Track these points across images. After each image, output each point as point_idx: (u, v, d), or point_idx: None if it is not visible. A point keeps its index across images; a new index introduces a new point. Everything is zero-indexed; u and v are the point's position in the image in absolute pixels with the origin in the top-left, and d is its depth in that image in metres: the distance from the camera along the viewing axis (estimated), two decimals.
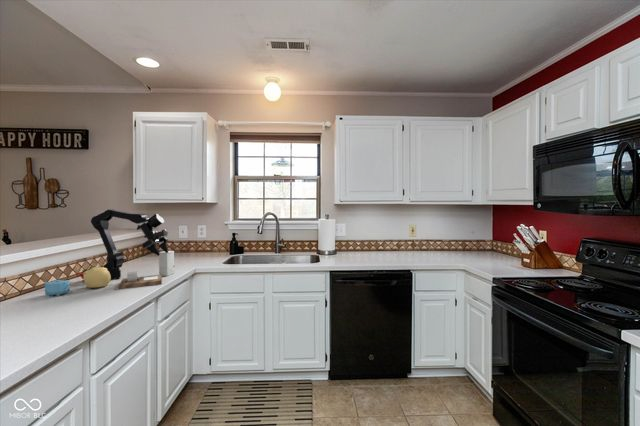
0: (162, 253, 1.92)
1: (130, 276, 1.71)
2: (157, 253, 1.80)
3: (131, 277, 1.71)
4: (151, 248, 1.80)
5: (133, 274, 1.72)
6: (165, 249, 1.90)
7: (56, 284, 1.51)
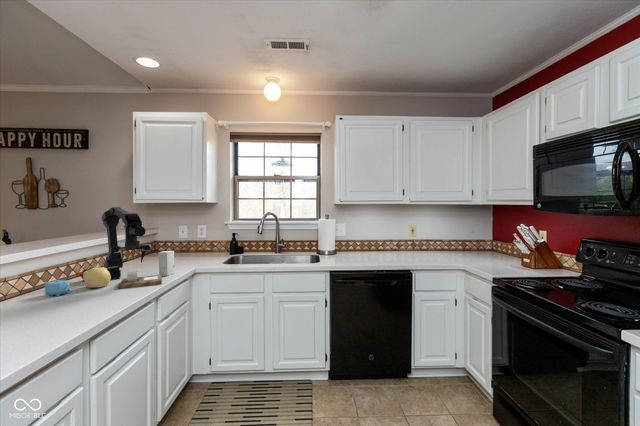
0: (162, 253, 1.92)
1: (130, 276, 1.71)
2: (121, 261, 1.71)
3: (131, 277, 1.71)
4: None
5: (133, 274, 1.72)
6: (141, 258, 1.75)
7: (56, 284, 1.51)
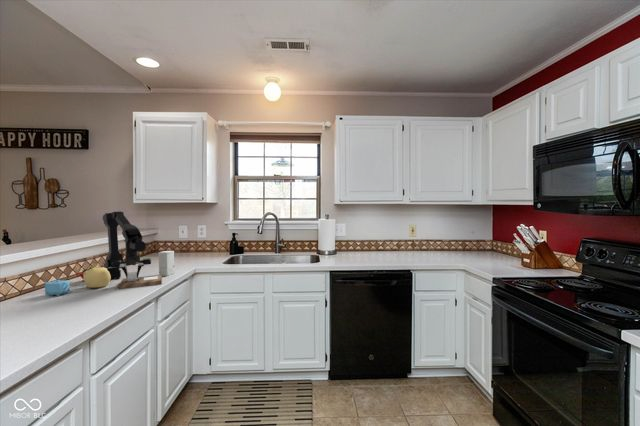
0: (162, 253, 1.92)
1: (130, 275, 1.71)
2: (126, 276, 1.72)
3: (131, 277, 1.71)
4: None
5: (133, 274, 1.72)
6: (137, 273, 1.74)
7: (56, 284, 1.51)
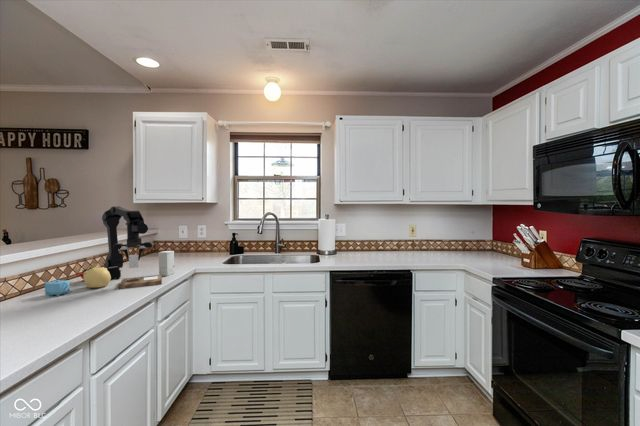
0: (162, 253, 1.92)
1: (131, 258, 1.71)
2: (127, 258, 1.72)
3: (133, 260, 1.71)
4: None
5: (134, 257, 1.72)
6: None
7: (56, 284, 1.51)
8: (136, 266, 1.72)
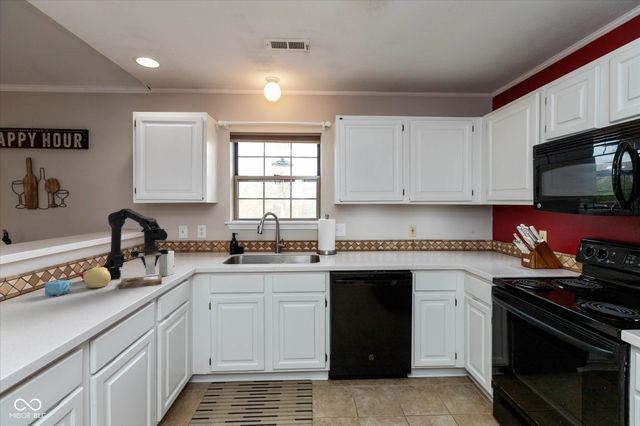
0: None
1: (148, 265, 1.75)
2: (144, 265, 1.76)
3: (149, 266, 1.75)
4: None
5: (151, 263, 1.76)
6: None
7: (56, 284, 1.51)
8: (153, 272, 1.76)
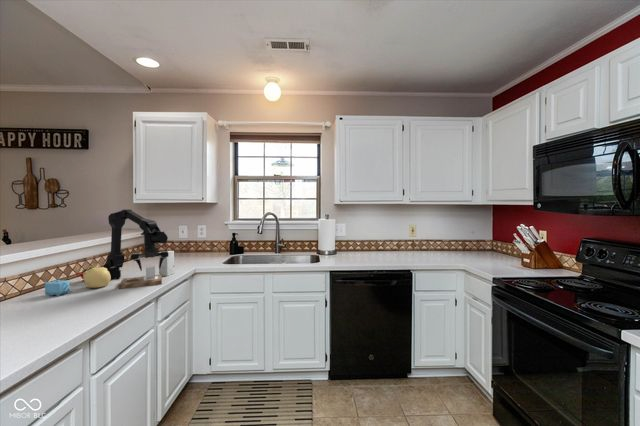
0: None
1: (148, 270, 1.75)
2: (140, 268, 1.75)
3: (149, 271, 1.75)
4: None
5: (151, 268, 1.76)
6: (159, 265, 1.79)
7: (56, 284, 1.51)
8: (153, 277, 1.76)
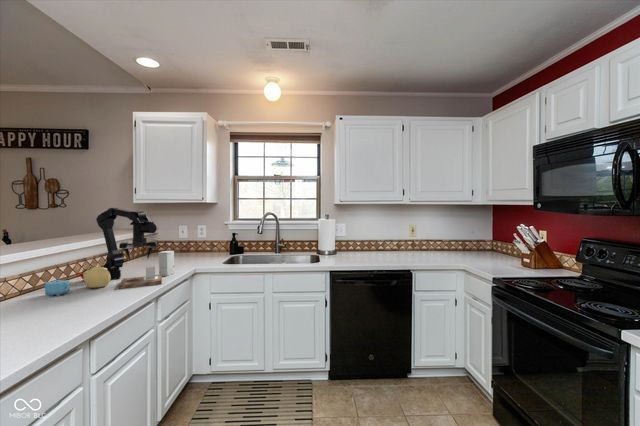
0: (162, 253, 1.92)
1: (148, 270, 1.75)
2: (128, 257, 1.79)
3: (149, 271, 1.75)
4: None
5: (151, 268, 1.76)
6: None
7: (56, 284, 1.51)
8: (153, 277, 1.76)
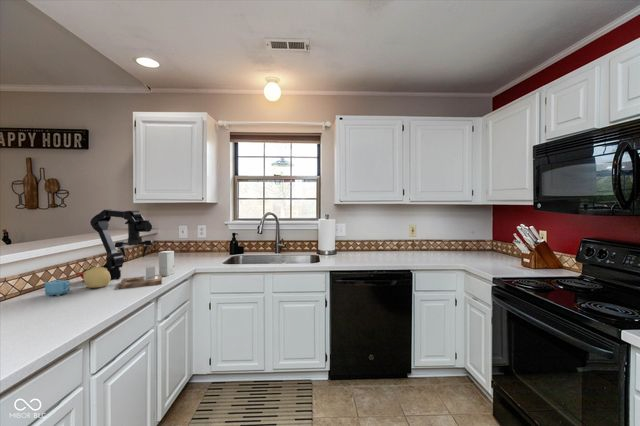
0: (162, 253, 1.92)
1: (148, 270, 1.75)
2: (124, 256, 1.81)
3: (149, 271, 1.75)
4: None
5: (151, 268, 1.76)
6: (143, 253, 1.85)
7: (56, 284, 1.51)
8: (153, 277, 1.76)
